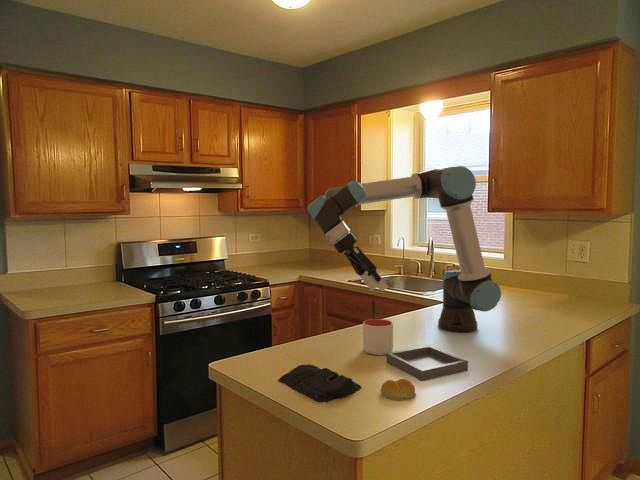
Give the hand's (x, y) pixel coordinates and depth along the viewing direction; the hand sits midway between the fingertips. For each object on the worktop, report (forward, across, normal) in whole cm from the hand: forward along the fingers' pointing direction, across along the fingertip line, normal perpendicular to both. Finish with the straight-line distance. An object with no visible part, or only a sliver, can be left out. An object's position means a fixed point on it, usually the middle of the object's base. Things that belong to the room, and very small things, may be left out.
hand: (379, 289), depth 159 cm
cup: (+17, -5, -12) cm, 22 cm away
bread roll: (+20, +30, -19) cm, 41 cm away
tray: (+26, +12, -5) cm, 29 cm away
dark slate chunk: (+8, +20, -35) cm, 41 cm away
